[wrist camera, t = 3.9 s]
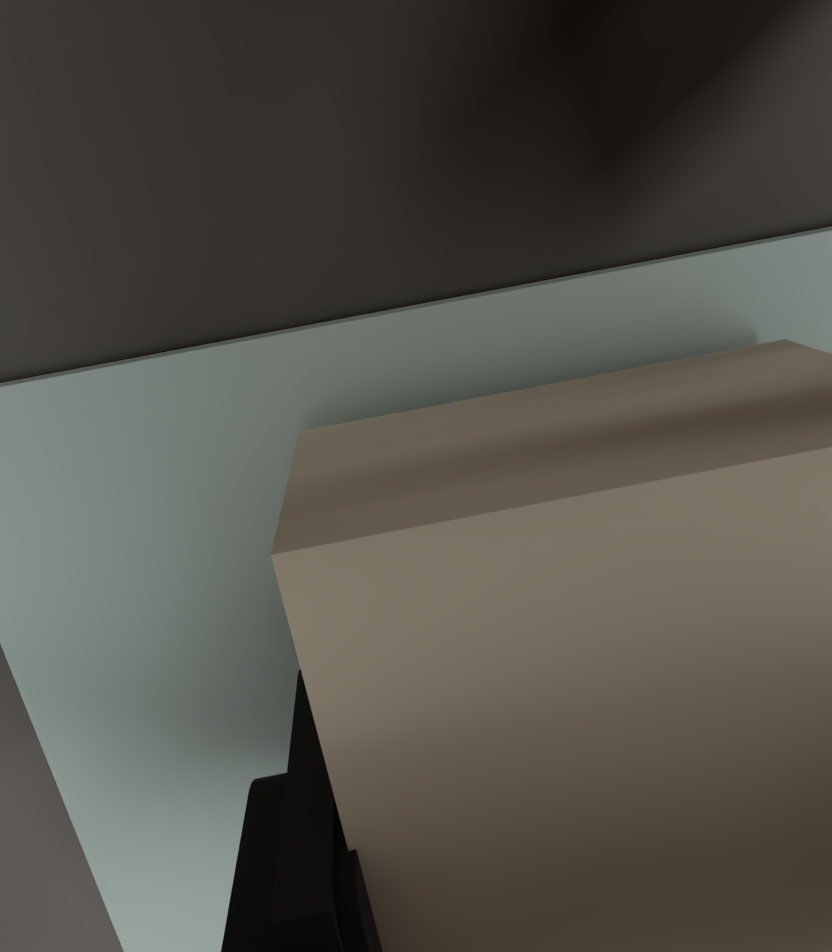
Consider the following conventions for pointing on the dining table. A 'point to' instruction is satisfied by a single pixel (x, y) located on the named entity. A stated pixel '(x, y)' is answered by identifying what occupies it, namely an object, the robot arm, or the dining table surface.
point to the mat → (269, 533)
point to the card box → (579, 657)
